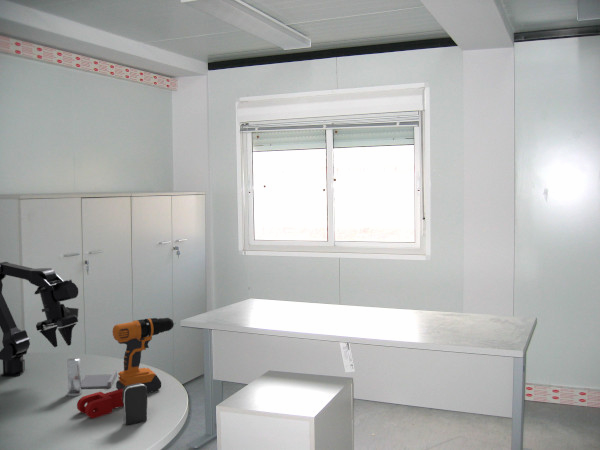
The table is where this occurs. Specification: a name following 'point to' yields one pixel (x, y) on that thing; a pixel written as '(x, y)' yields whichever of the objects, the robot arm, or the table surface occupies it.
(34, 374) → the table surface
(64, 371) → the table surface
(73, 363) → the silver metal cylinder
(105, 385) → the bracket
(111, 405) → the mechanical linkage
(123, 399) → the battery charger
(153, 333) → the power drill
